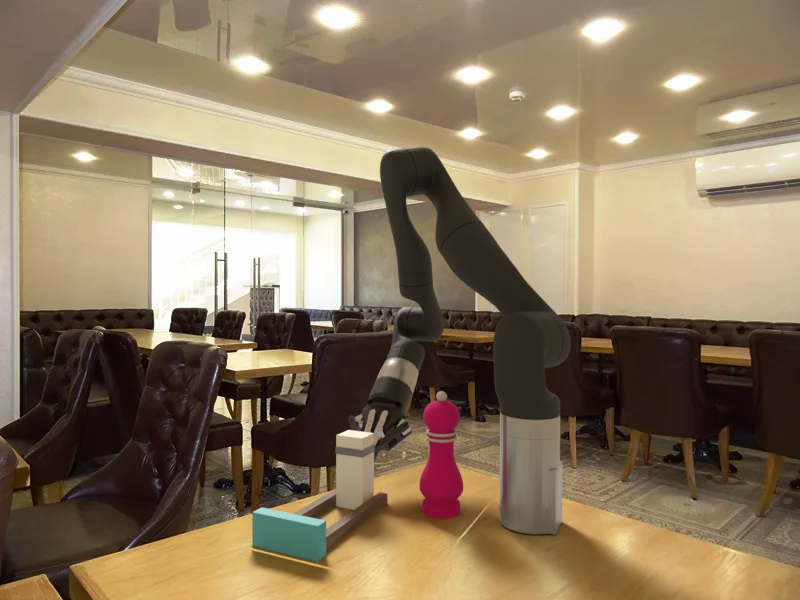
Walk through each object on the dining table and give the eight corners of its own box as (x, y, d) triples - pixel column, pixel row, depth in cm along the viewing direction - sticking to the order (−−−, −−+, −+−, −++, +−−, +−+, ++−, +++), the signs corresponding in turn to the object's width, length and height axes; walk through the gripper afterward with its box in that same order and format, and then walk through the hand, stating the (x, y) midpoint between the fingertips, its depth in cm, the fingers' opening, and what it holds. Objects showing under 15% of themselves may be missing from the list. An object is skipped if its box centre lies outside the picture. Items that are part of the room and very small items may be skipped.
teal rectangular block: (326, 557, 76) (326, 520, 76) (317, 563, 74) (317, 526, 74) (261, 541, 81) (261, 507, 81) (252, 547, 79) (252, 512, 79)
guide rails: (387, 505, 95) (387, 493, 95) (314, 560, 75) (314, 545, 75) (341, 496, 99) (341, 485, 99) (259, 547, 79) (259, 533, 79)
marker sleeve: (374, 503, 95) (374, 432, 95) (362, 511, 91) (362, 438, 91) (348, 498, 97) (348, 429, 97) (335, 506, 93) (335, 435, 93)
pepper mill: (463, 505, 95) (463, 388, 95) (463, 522, 88) (464, 395, 88) (420, 503, 96) (421, 387, 96) (417, 520, 89) (418, 394, 88)
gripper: (357, 372, 108) (322, 451, 97) (420, 377, 102) (390, 461, 91) (370, 395, 113) (338, 473, 102) (431, 401, 107) (404, 484, 96)
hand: (363, 467), depth 97 cm, fingers closed
